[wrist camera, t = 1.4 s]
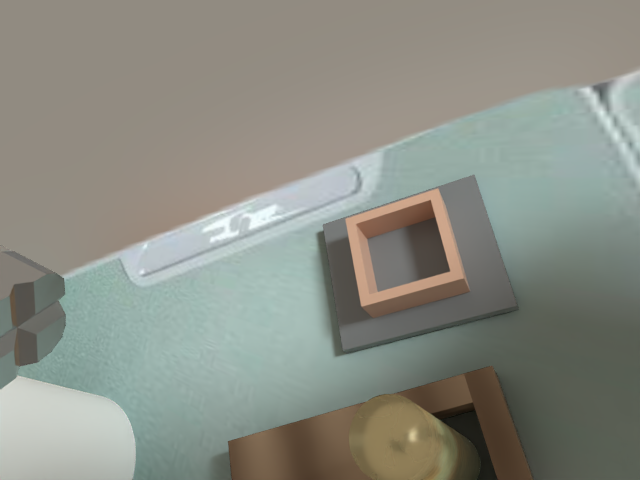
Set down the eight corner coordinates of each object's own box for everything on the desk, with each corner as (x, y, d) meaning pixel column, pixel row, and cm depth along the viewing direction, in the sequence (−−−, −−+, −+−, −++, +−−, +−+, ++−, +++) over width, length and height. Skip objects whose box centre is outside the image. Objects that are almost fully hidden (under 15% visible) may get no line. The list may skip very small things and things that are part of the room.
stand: (476, 180, 48) (468, 155, 44) (518, 309, 42) (513, 292, 39) (326, 229, 52) (309, 209, 48) (346, 353, 46) (329, 341, 43)
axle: (490, 452, 39) (446, 421, 25) (463, 505, 38) (404, 502, 25) (440, 421, 41) (375, 379, 28) (413, 471, 40) (334, 451, 27)
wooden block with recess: (497, 374, 41) (491, 365, 38) (549, 525, 36) (547, 526, 33) (246, 445, 46) (228, 441, 43) (262, 584, 41) (242, 589, 38)
